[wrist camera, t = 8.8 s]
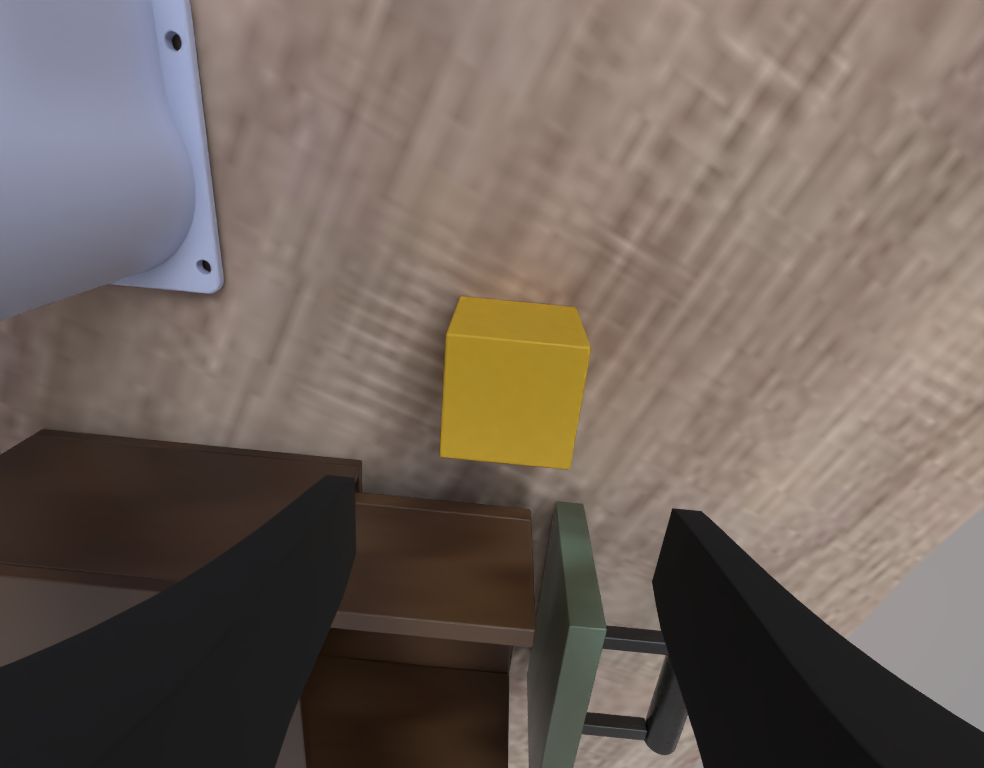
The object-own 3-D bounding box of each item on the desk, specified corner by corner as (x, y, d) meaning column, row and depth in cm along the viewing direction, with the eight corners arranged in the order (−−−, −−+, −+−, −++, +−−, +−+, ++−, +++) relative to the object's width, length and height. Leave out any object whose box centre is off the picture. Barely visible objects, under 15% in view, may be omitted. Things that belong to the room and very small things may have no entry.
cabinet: (361, 460, 23) (290, 604, 16) (365, 653, 28) (311, 831, 21) (41, 429, 23) (-176, 559, 16) (101, 627, 28) (-45, 796, 21)
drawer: (693, 514, 23) (756, 644, 17) (642, 685, 27) (677, 836, 21) (275, 473, 23) (190, 589, 17) (292, 651, 27) (229, 792, 21)
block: (460, 295, 20) (445, 333, 16) (576, 306, 20) (591, 347, 16) (453, 400, 22) (438, 458, 18) (560, 410, 22) (570, 470, 18)
